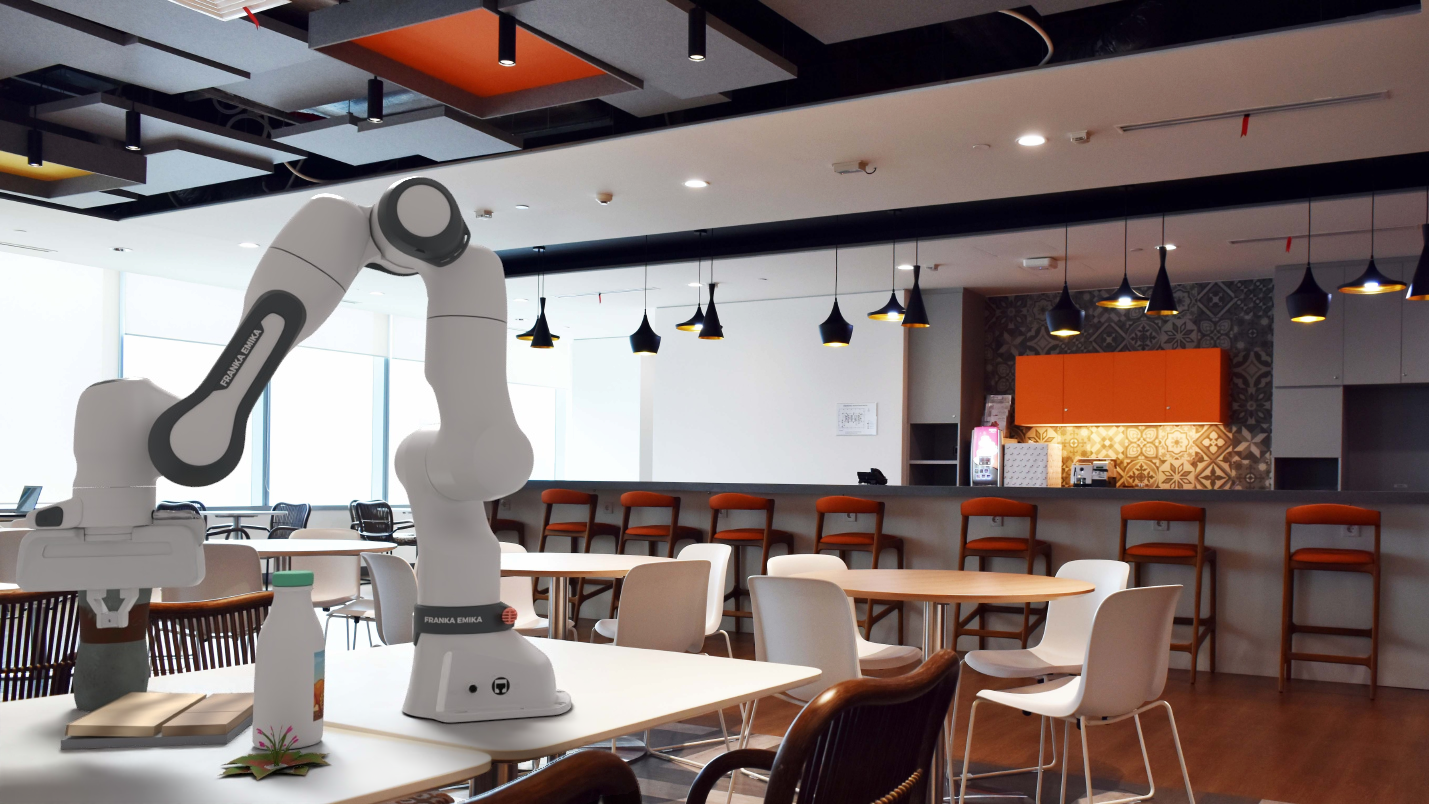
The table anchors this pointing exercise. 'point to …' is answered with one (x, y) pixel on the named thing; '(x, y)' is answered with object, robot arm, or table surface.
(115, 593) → the vodka
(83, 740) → the underlay
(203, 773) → the table surface
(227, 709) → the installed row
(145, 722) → the plank
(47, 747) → the table surface
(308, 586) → the milk bottle
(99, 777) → the table surface
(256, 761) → the green plant with flowers
